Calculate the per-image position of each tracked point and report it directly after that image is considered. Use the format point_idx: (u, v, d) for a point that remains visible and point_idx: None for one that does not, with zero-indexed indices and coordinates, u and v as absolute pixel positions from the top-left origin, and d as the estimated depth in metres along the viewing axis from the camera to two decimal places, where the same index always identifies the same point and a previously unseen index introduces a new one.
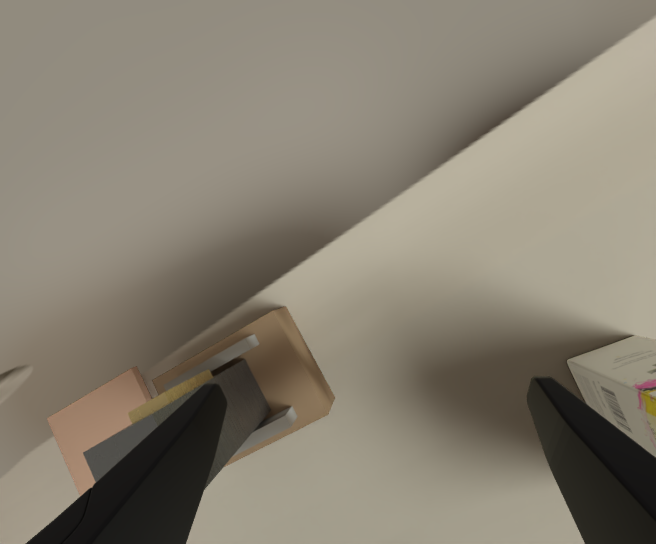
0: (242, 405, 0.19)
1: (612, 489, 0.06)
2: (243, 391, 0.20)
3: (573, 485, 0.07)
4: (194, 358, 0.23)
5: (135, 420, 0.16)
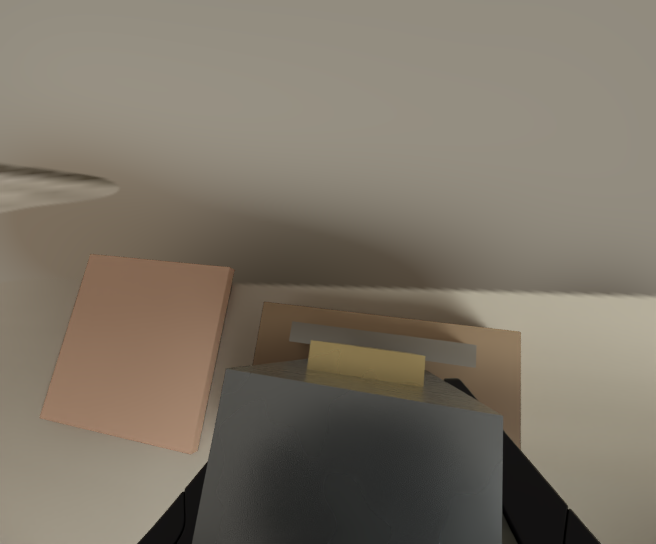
0: None
1: None
2: None
3: None
4: (346, 315, 0.14)
5: (318, 366, 0.07)
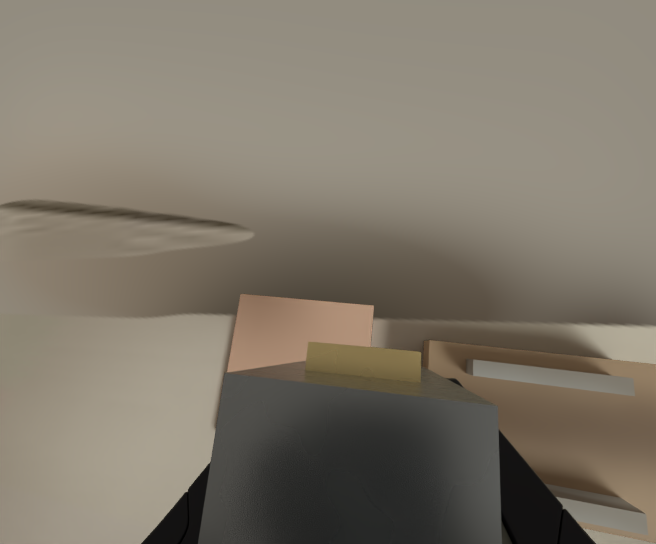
0: None
1: None
2: None
3: None
4: (504, 351, 0.17)
5: (316, 367, 0.07)
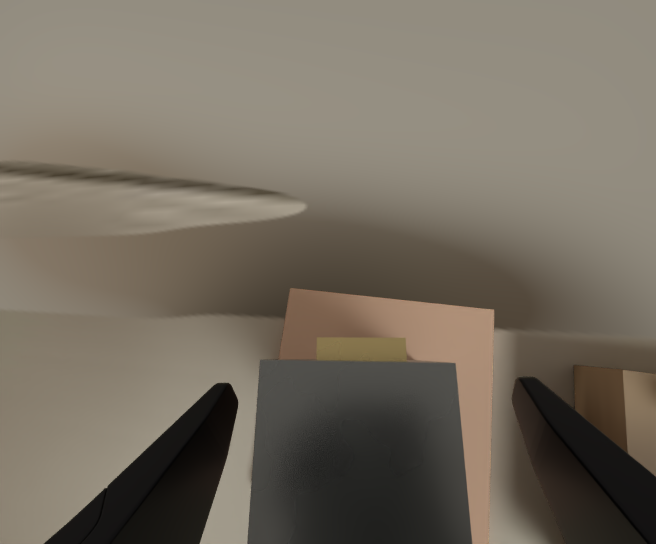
0: None
1: (589, 488, 0.06)
2: None
3: (554, 484, 0.07)
4: None
5: (325, 357, 0.08)
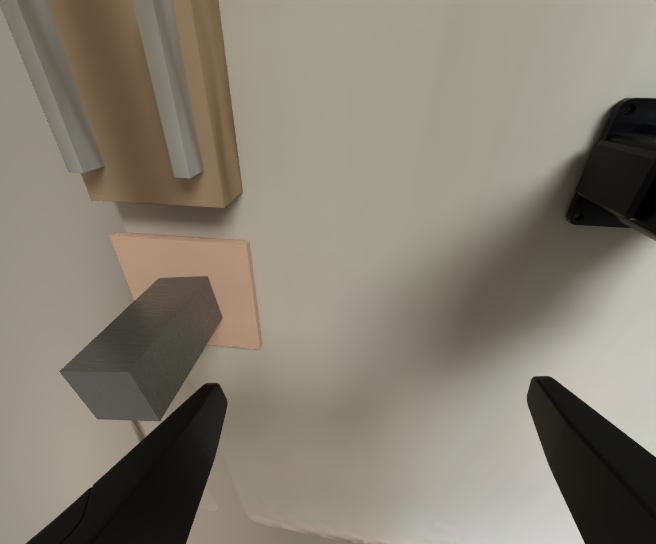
0: (167, 299, 0.21)
1: (612, 489, 0.06)
2: (164, 293, 0.22)
3: (573, 485, 0.07)
4: None
5: None
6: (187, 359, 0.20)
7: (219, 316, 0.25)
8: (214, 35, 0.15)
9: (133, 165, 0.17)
